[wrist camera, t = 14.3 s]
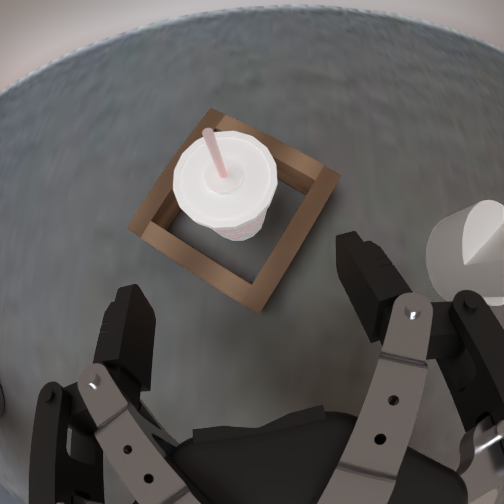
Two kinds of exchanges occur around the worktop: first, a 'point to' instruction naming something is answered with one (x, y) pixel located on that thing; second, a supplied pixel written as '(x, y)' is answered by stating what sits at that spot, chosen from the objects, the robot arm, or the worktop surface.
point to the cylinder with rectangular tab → (469, 253)
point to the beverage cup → (226, 183)
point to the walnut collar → (257, 294)
